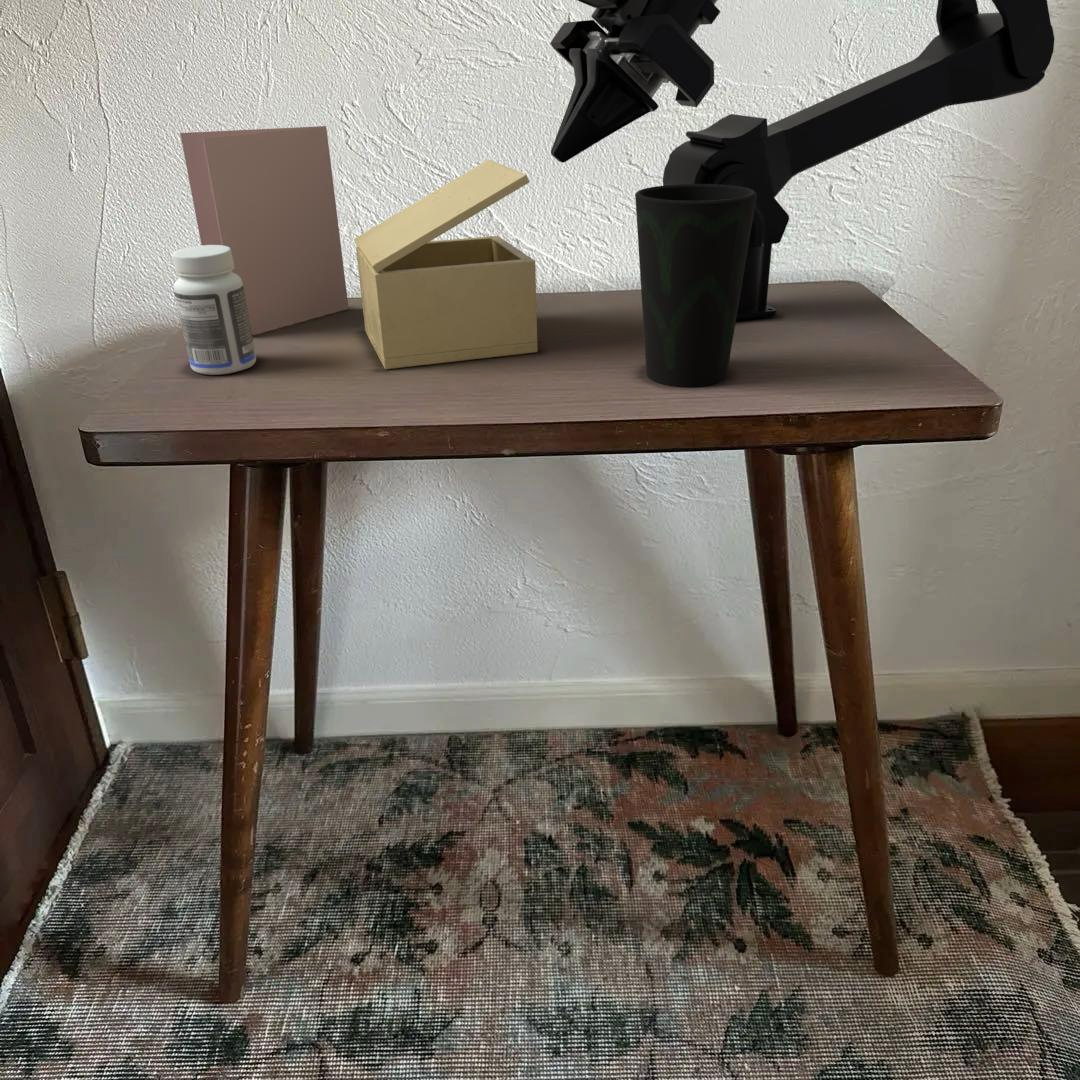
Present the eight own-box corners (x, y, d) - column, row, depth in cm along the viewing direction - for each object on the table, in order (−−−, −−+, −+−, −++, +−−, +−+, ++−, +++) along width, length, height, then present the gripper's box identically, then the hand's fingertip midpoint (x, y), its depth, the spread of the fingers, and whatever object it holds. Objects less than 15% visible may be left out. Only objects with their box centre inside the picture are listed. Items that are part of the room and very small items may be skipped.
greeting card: (347, 306, 84) (325, 125, 77) (355, 327, 78) (331, 132, 71) (216, 318, 82) (180, 132, 75) (212, 340, 76) (173, 140, 69)
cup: (758, 387, 62) (775, 197, 57) (647, 396, 61) (653, 204, 56) (720, 353, 69) (732, 181, 63) (619, 361, 68) (622, 187, 62)
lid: (492, 166, 74) (488, 158, 74) (530, 182, 65) (526, 174, 65) (357, 245, 74) (353, 239, 73) (376, 273, 65) (371, 265, 64)
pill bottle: (237, 352, 72) (216, 240, 68) (268, 365, 69) (249, 248, 65) (179, 367, 70) (154, 251, 66) (209, 380, 67) (185, 260, 63)
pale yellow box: (501, 318, 80) (498, 235, 76) (537, 352, 71) (535, 260, 67) (365, 332, 77) (355, 247, 74) (384, 369, 68) (374, 274, 65)
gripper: (564, -100, 71) (445, 80, 74) (664, -143, 55) (506, 88, 58) (664, 7, 76) (549, 171, 79) (781, -4, 60) (631, 201, 63)
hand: (556, 158), depth 70 cm, fingers closed
